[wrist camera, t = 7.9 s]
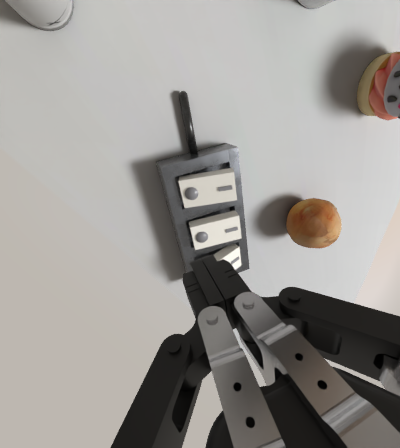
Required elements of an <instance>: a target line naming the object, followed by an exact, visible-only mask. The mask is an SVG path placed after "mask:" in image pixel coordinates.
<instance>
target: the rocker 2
mask: <svg viewBox="0 0 400 448" xmlns="http://www.w3.org/2000/svg"><path fill="white" fill-rule="evenodd" d="M214 257H215V258H216V260H217V261H220V260H222V259H224V260H226V261H228V262H230V263H231V265H232V266H233V267H234V269H235V270H236V269H237V268H239V267H240V266H241V256H240V247H239V246H237V245H235V244H231V245H228V246H226V247H224V248H223V249H221V250H220V251H218V252H217V253H215V254H214Z"/></svg>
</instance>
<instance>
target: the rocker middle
mask: <svg viewBox="0 0 400 448" xmlns="http://www.w3.org/2000/svg"><path fill="white" fill-rule="evenodd" d="M189 226H190V231H191V235H192V239H193V244H194V247H195V250H198V249H202V248H206V247H210V246H214V245H218V244H222V243H225V242H229V241H233V240H237V239H241V238H242V237H241V228H240V219H239V215H238V213H237V212H236V211H231V212H226V213H222V214H218V215H214V216H210V217H206V218H202V219H198V220H194V221H190V222H189Z"/></svg>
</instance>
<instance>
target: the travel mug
mask: <svg viewBox="0 0 400 448" xmlns="http://www.w3.org/2000/svg"><path fill="white" fill-rule="evenodd" d="M5 1H6V2H7V3H8V4H9V5H10V6H11V7H12V8H13V9H14V10H15V11H16V12H17V13H18V14H19V15H20V16H21V17H22V18H24V19H25V20H26V21H27V22H28V23H30V24H31V25H33V26H35V27H37V28H39V29H42V30H46V31H55V30H59V29H61V28H63V27H64V26H66V25H67V24H68V22H69V21H70V19H71V17H72V14H73V8H74V4H73V0H5Z"/></svg>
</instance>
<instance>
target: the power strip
mask: <svg viewBox="0 0 400 448" xmlns="http://www.w3.org/2000/svg"><path fill="white" fill-rule="evenodd" d="M179 99H180V104H181V110H182V115H183V120H184V125H185V130H186V135H187V140H188V145H189V150H190V153H188V154H184V155H180V156H177V157H173V158H169V159H165V160H161V161H158V162H156V164H157V168H158V171H159V175H160V179H161V182H162V186H163V190H164V193H165V197H166V201H167V204H168V208H169V212H170V216H171V219H172V223H173V227H174V230H175V234H176V238H177V241H178V245H179V249H180V252H181V256H182V260H183V263H184V267H185V271H186V273H188V272H190V271H191V269H190V265H189V263H190V262H192V261H195V260H198V259H201V258H203V257H206V256H209V255H211V254H213V255H214V254H215V253H217V252H218V251H220V250H221V249H223V248H224V247H226V246H228V245H231V244H235V245H237V246H239V247H240V256H241V266H240V267H239V268H237V269H236V271H237V273H239V272H242V271H244V270H247V269H249V260H248V249H247V239H246V228H245V218H244V207H243V197H242V186H241V176H240V165H239V155H238V147H236V146H233V145H230V144H227V143H226V144H222V145H219V146H215V147H211V148H207V149H203V150H199V151H197V146H196V140H195V135H194V129H193V123H192V118H191V112H190V107H189V101H188V95H187V93H186V92H185V91H181V92H180V93H179ZM228 168H233V170H234V176H235V185H236V195H237V200H236V201H229V202H222V203H216V204H209V205H203V206H196V207H189V208H185V207H184V203H183V199H182V195H181V190H180V186H179V182H178V181H179V177H180V176H186V175H192V174H198V173H204V172H210V171H216V170H222V169H228ZM231 211H236V212H237V213H238V215H239V219H240V228H241V237H242V238H241V239H237V240H233V241H229V242H225V243H222V244H218V245H214V246H210V247H206V248H202V249H198V250H195V247H194V244H193V239H192V235H191V231H190V226H189V222H190V221H194V220H198V219H202V218H206V217H210V216H214V215H218V214H222V213H226V212H231Z"/></svg>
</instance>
